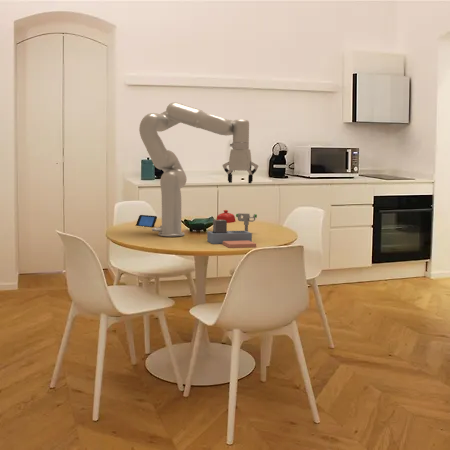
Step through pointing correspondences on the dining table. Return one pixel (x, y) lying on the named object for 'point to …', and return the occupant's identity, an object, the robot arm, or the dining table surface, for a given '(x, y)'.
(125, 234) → the dining table surface
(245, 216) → the mechanical component
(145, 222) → the tablet display
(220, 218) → the butter dish
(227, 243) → the terracotta mat
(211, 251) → the dining table surface
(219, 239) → the blue-grey tray
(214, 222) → the block
